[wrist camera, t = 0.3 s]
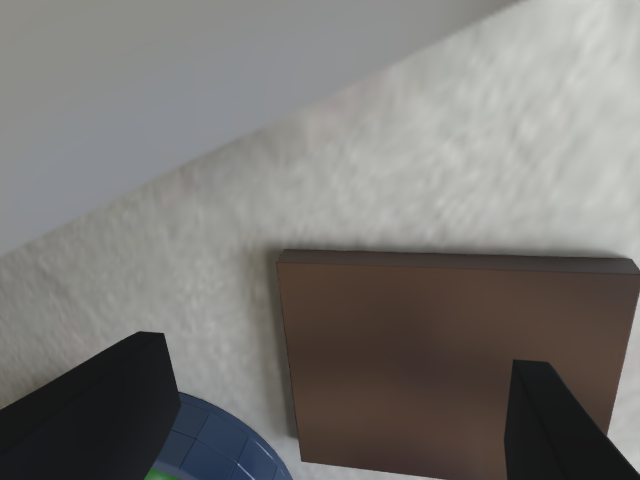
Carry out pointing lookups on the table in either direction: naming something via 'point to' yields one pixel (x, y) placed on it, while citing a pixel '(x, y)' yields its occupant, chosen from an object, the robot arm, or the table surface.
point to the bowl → (216, 447)
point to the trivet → (442, 351)
